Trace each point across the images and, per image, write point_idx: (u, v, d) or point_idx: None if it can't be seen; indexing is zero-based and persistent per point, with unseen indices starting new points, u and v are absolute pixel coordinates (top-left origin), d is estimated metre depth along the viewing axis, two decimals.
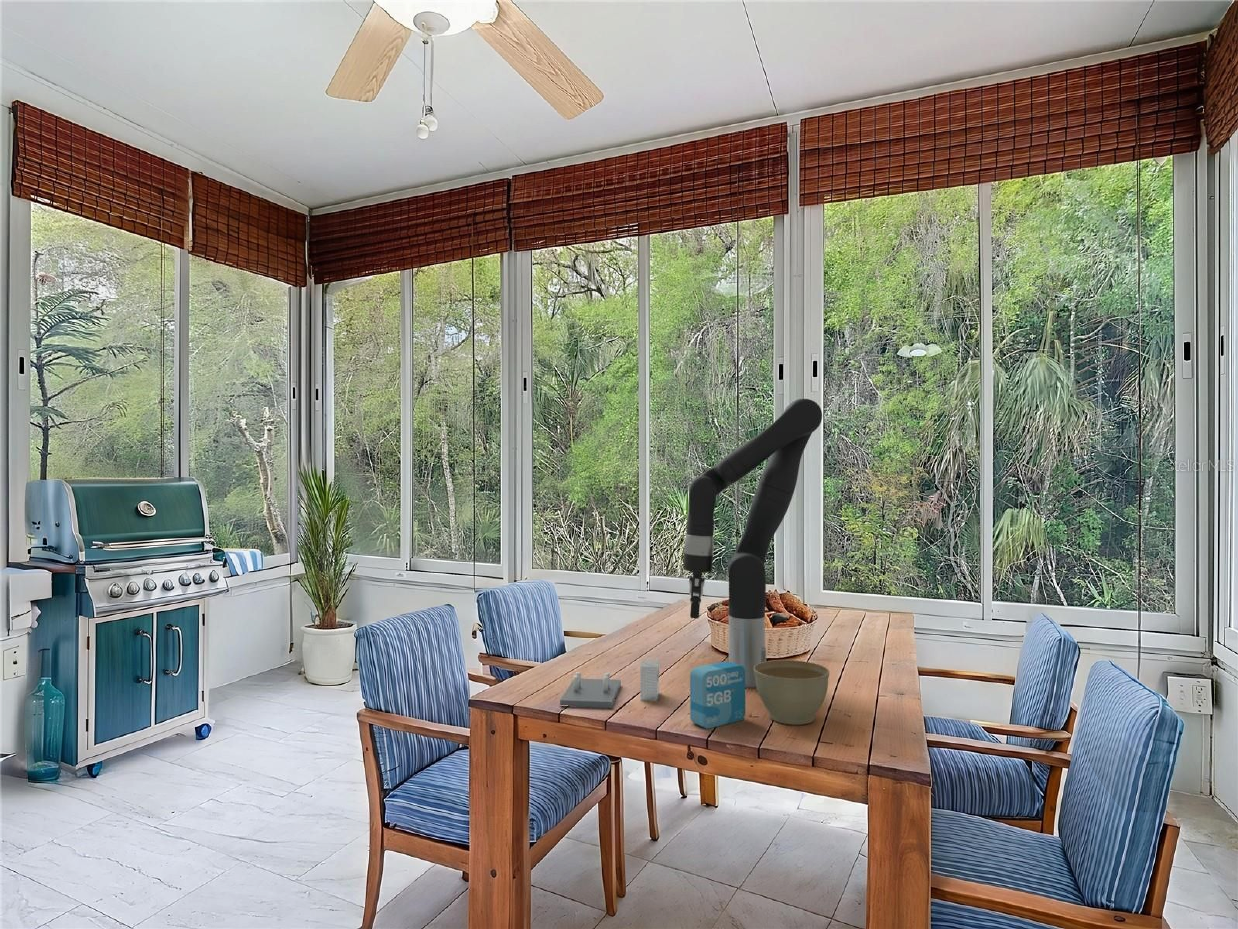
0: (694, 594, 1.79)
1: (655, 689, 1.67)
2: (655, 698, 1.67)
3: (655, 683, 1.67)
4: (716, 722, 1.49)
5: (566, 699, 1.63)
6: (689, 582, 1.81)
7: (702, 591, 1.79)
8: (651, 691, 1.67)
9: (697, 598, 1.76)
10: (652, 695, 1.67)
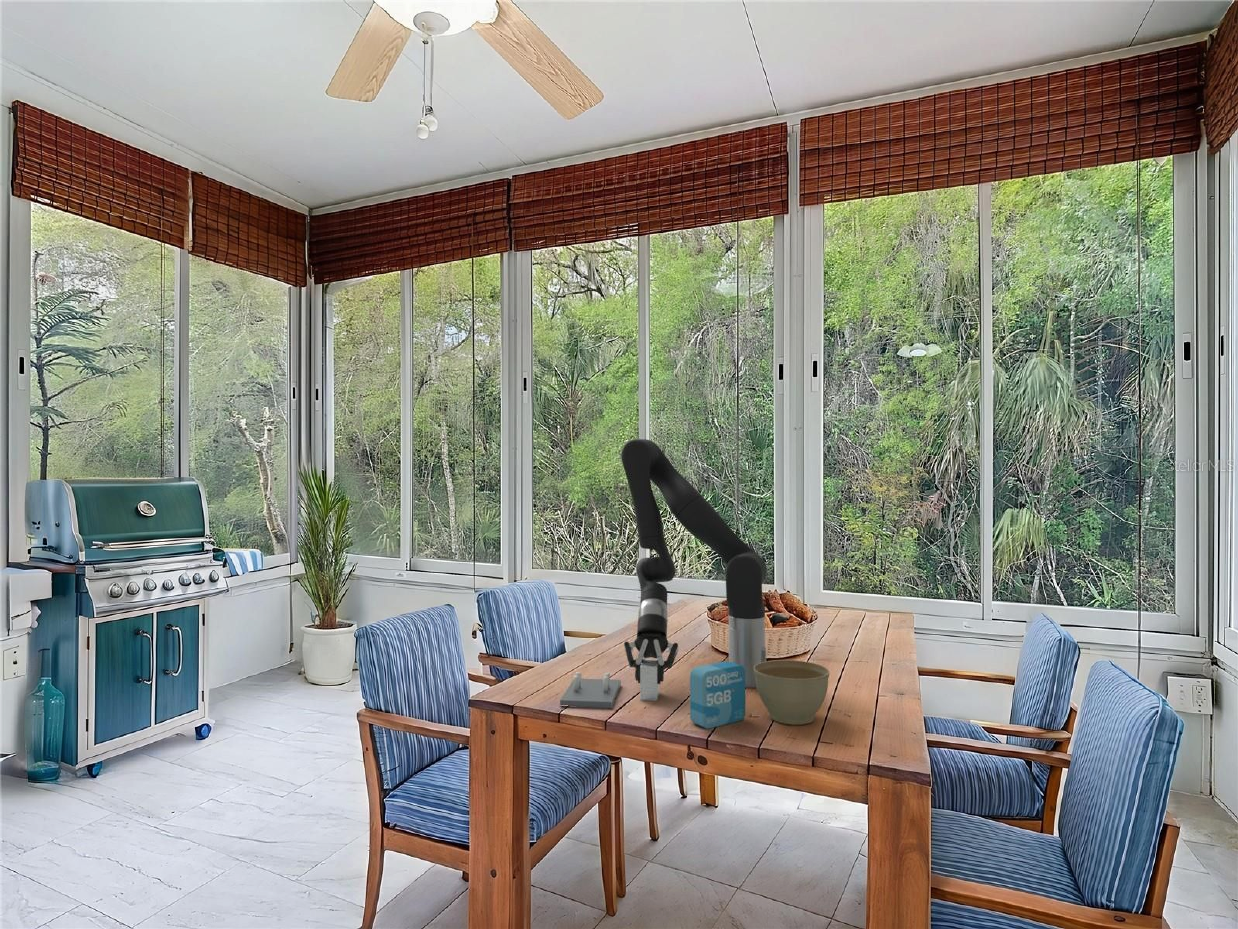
0: None
1: (655, 689, 1.67)
2: (655, 698, 1.67)
3: (655, 683, 1.67)
4: (716, 722, 1.49)
5: (566, 699, 1.63)
6: None
7: (639, 652, 1.72)
8: (651, 691, 1.67)
9: None
10: (652, 695, 1.67)
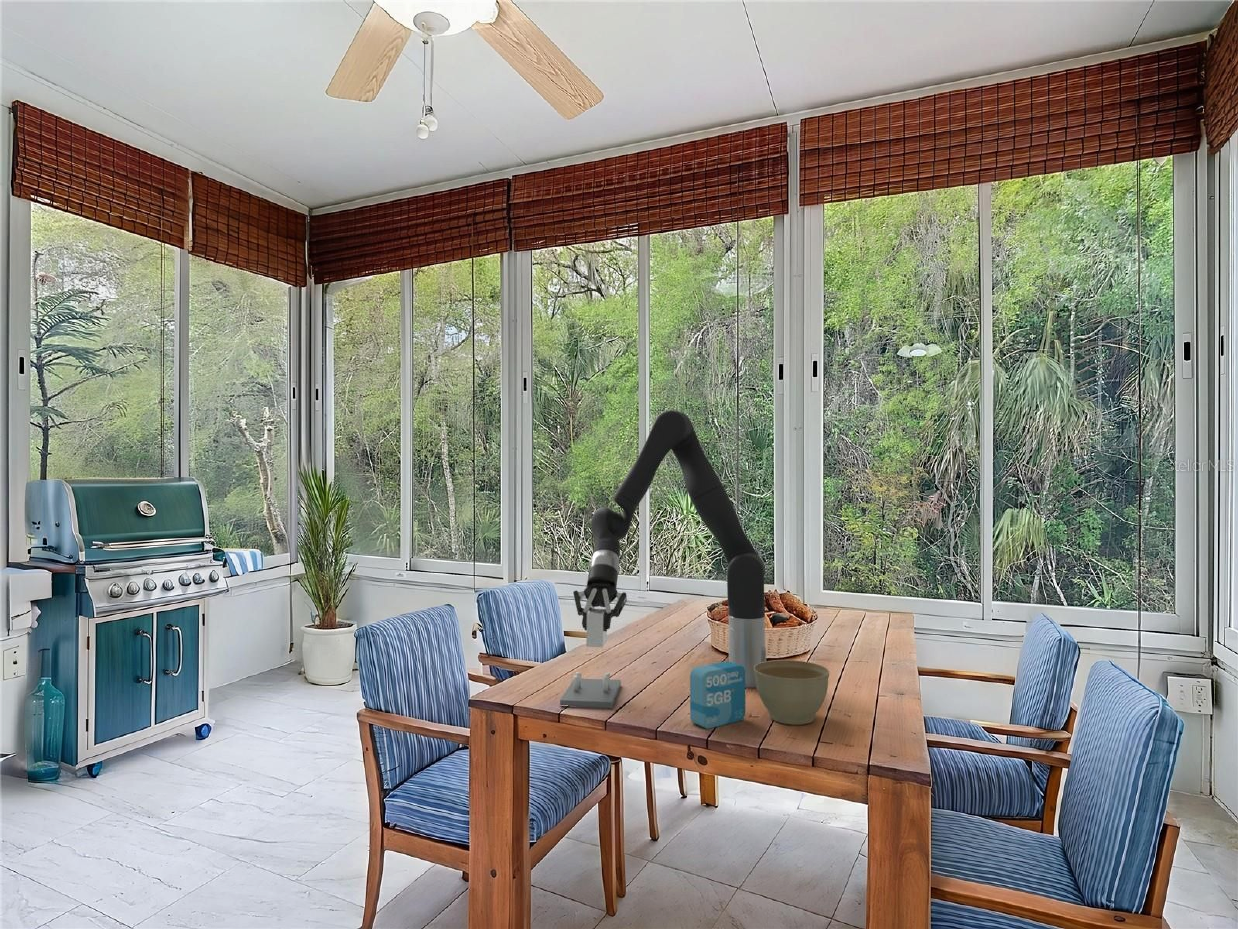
0: None
1: (601, 636, 1.68)
2: (601, 644, 1.68)
3: (601, 630, 1.68)
4: (716, 722, 1.49)
5: (566, 699, 1.63)
6: None
7: (587, 600, 1.73)
8: (597, 637, 1.68)
9: None
10: (598, 641, 1.68)
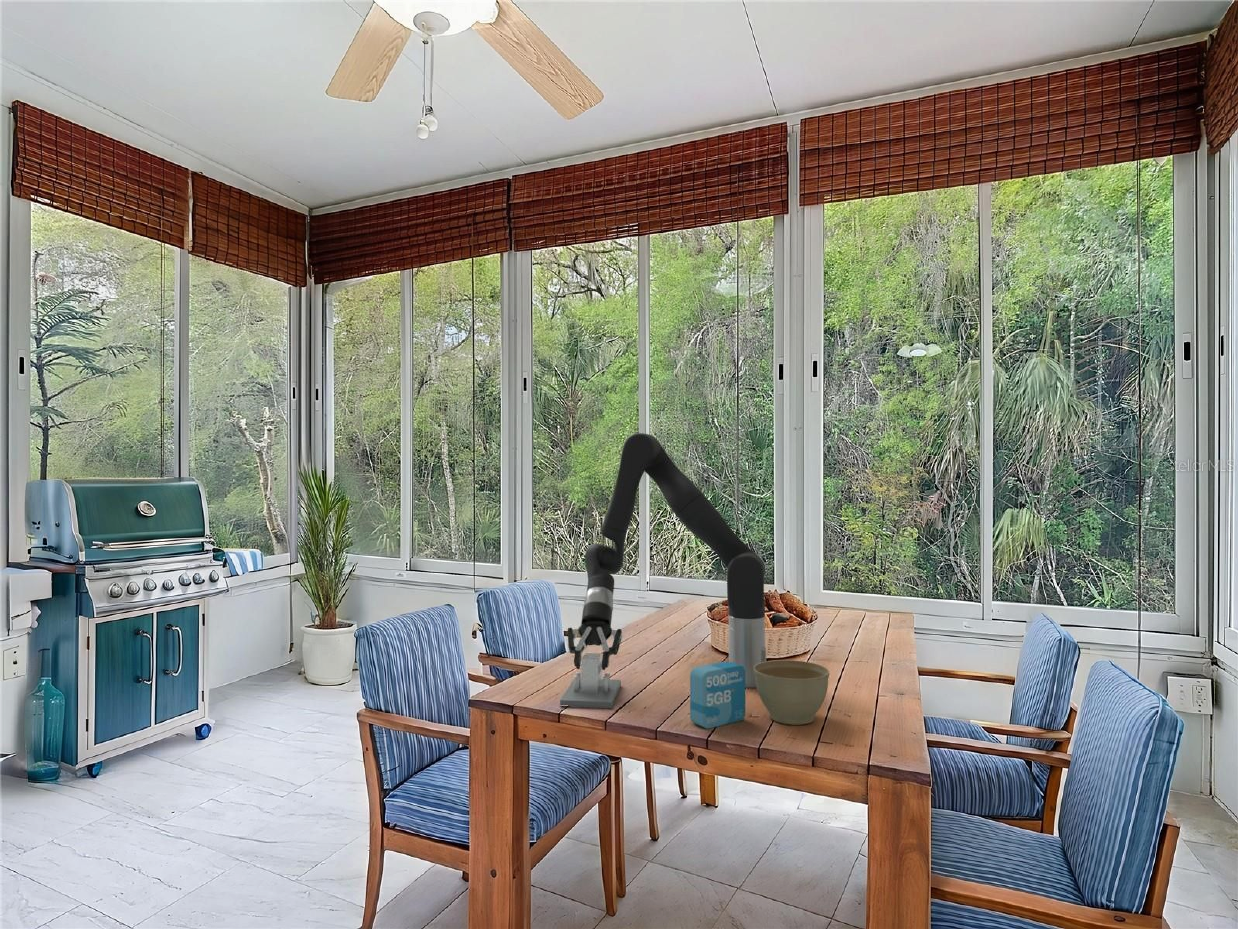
0: None
1: (596, 682, 1.67)
2: (596, 691, 1.67)
3: (596, 676, 1.68)
4: (716, 722, 1.49)
5: (566, 699, 1.63)
6: None
7: None
8: (592, 684, 1.68)
9: None
10: (593, 687, 1.68)
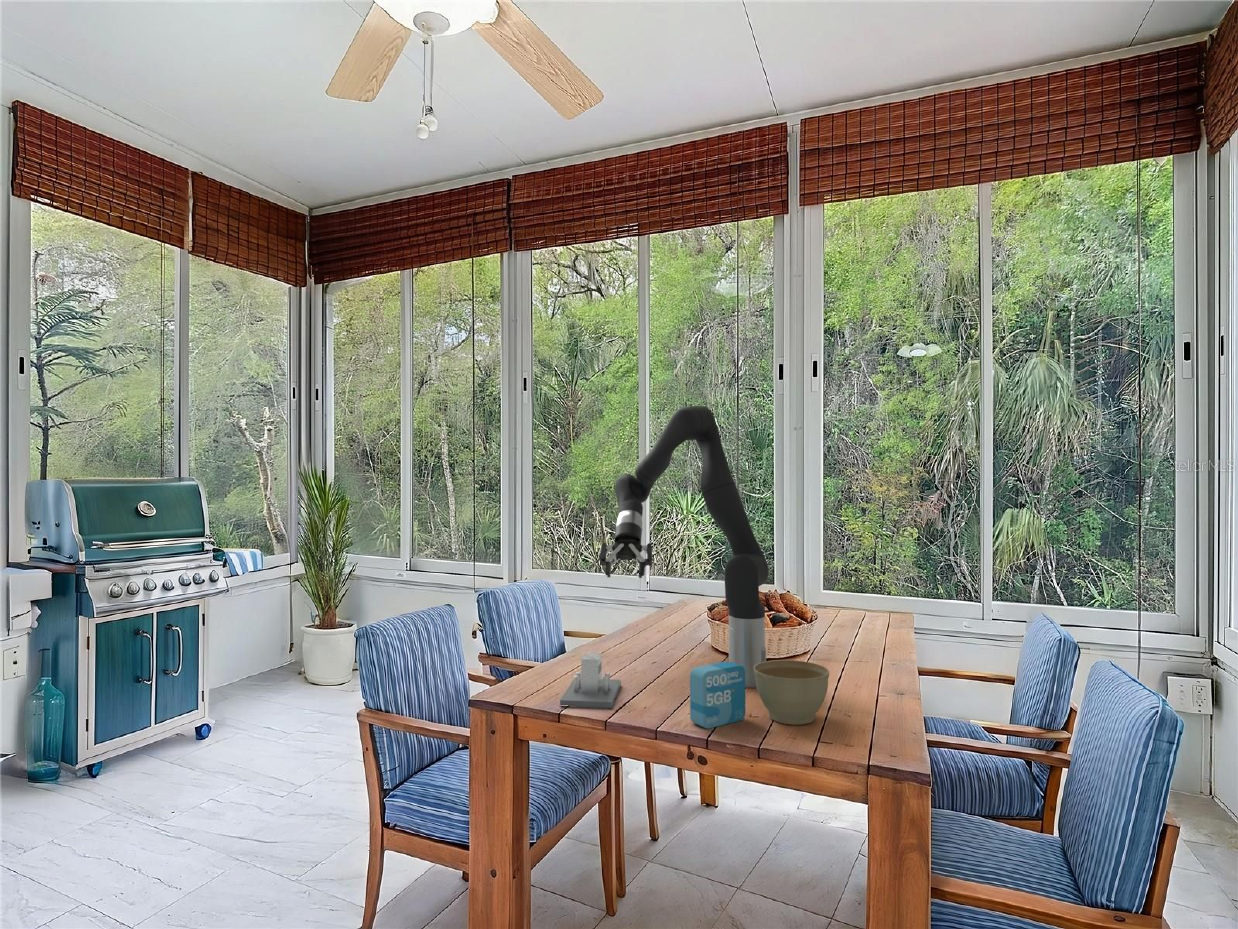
0: (612, 559, 1.93)
1: (596, 682, 1.67)
2: (596, 691, 1.67)
3: (596, 676, 1.68)
4: (716, 722, 1.49)
5: (566, 699, 1.63)
6: None
7: (612, 552, 1.92)
8: (592, 684, 1.68)
9: None
10: (593, 687, 1.68)
